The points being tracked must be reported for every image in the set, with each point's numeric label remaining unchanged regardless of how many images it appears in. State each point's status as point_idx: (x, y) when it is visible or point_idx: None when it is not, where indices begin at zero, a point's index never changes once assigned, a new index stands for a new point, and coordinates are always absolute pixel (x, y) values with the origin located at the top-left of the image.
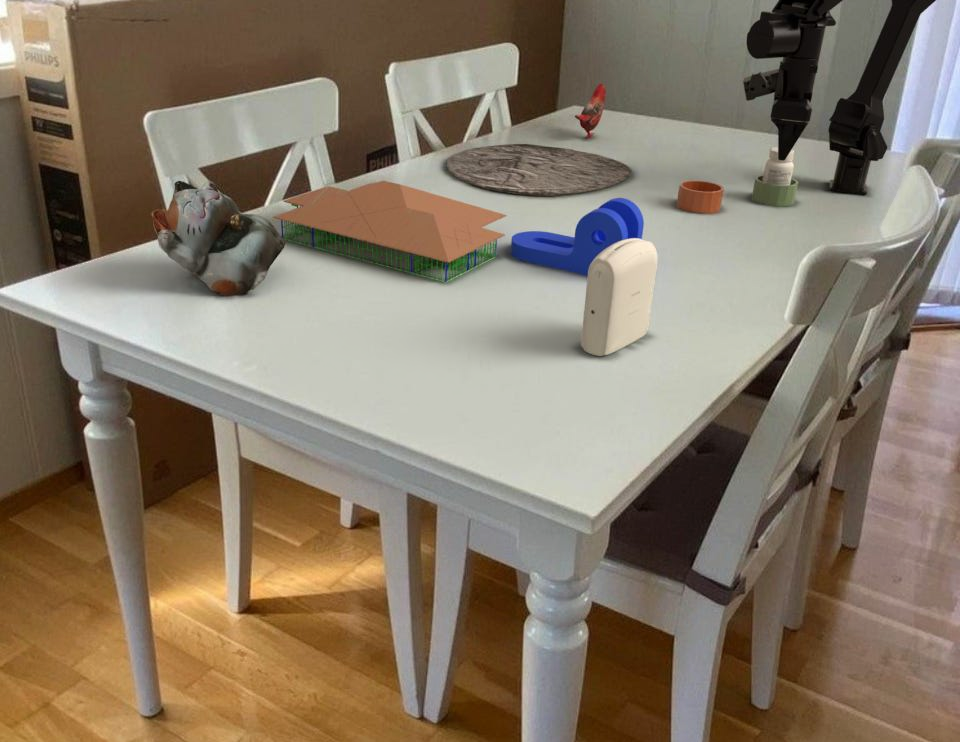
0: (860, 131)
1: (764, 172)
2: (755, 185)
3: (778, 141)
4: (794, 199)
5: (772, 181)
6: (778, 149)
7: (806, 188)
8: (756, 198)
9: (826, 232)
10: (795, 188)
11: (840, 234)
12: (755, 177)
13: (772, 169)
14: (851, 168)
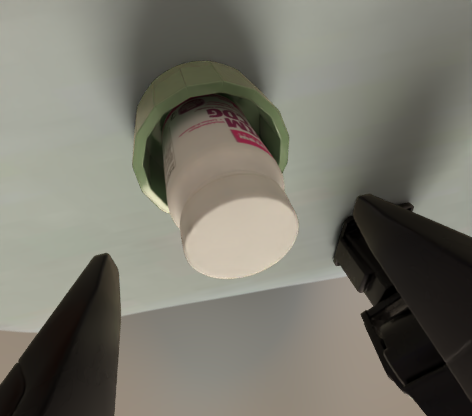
0: (398, 378)
1: (199, 133)
2: (167, 88)
3: (20, 357)
4: None
5: (164, 164)
6: (60, 302)
7: (359, 175)
8: (147, 91)
9: (8, 288)
10: None
11: (24, 304)
12: (210, 83)
13: (169, 181)
14: (361, 280)
